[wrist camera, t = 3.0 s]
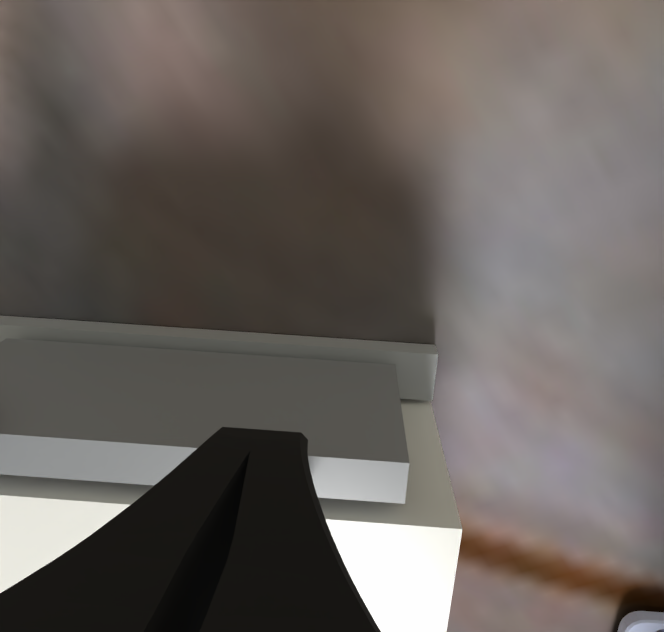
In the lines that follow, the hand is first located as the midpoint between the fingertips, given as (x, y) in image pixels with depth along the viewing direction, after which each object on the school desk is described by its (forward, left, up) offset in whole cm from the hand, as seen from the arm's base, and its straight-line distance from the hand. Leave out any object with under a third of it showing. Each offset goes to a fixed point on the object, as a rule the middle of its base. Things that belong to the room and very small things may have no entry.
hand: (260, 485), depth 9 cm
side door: (+2, 0, -5) cm, 5 cm away
